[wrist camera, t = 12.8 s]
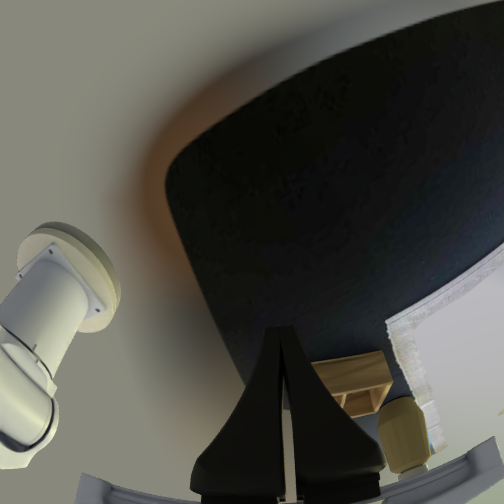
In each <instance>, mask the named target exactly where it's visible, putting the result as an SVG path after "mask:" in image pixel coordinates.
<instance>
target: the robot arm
mask: <svg viewBox="0 0 504 504" xmlns="http://www.w3.org/2000/svg"><path fill="white" fill-rule="evenodd" d="M51 250H52V251H51ZM15 279H16V281H17V282H18V283H17V285H16V286H15V287H14V288H13V289H12V291H11V292H10V293H9V294H8V296H7V297H6V298H5V299H4V301H3V302H2V303H1V305H0V469H15V468H24V467H27V465H28V463H29V462H30V460H31V458H32V457H33V456H34V454H35V453H36V452H37V451H38V450H40V449H42V448H43V447H45V445H47V444H48V443H49V442H50V441H51V439H52V438H53V436H54V434H55V432H56V429H57V426H58V420H59V407H58V403H57V401H56V399H55V398H54V393H55V391H56V389H57V386H55V384H54V383H53V382H52V379H53V377H54V375H55V373H56V370H57V368H58V366H59V364H60V362H61V360H62V358H63V356H64V354H65V352H66V350H67V348H68V346H69V345H70V343H71V341H72V339H73V337H74V335H75V333H76V331H77V330H78V328H79V326H80V324H81V322H82V321H83V320H86V319H89V318H91V317H94V316H96V315H99V314H101V313H104V312H105V311H106V310H107V307H106V305H105V304H104V303H103V302H102V301H101V299H100V298H99V297H98V296H97V295H96V294H95V292H94V291H93V290H92V289H91V288H90V286H89V285H88V284H87V283H86V281H85V280H84V279H83V278H82V276H81V275H80V274H79V273H78V271H77V270H76V269H75V268H74V266H73V265H72V264H71V262H70V261H69V260H68V258H67V257H66V256H65V254H64V253H63V252H62V250H61V249H60V247H59V246H58V245H57V244H56V243H52V244H50V245H49V246H48V247H47V248H45V249H44V250H43V251H42V252H41V253H40V254H38V255H37V256H36V257H35V258H34V259H33V260H31V261H30V262H29V263H28V264H27V265H26V266H25V267H23V268H22V269H21V270H20V271H19V272H18V273H17V274H16V275H15ZM284 379H285V384H286V390H287V396H288V401H289V407H290V412H291V419H292V429H293V443H294V459H295V474H296V475H295V476H296V494H297V503H286V504H368V503H371V502H376V501H379V500H383V499H385V500H384V501H383V502H382V504H465V503H467V502H468V501H470V500H472V499H473V498H475V497H476V496H478V495H479V494H481V493H482V492H484V491H485V490H487V489H488V488H490V487H491V486H493V485H494V484H496V483H497V482H499V481H500V480H502V479H503V478H504V465H503V461H502V457H501V454H500V451H499V447H498V445H497V441H496V438H495V436H493V437H491V438H489V439H488V440H486V441H484V442H482V443H481V444H479V445H477V446H476V447H474V448H472V449H471V450H469V451H468V452H467V453H466V454H464V455H462V456H460V457H458V458H456V459H454V460H452V461H449V462H447V463H445V464H443V465H441V466H438V467H436V468H434V469H431V470H429V471H426V472H424V473H421V474H419V475H416V476H413V477H410V478H408V479H405V480H402V481H399V482H396V483H392V484H389V485H386V486H383V487H379V480H380V474H379V472H380V471H381V470H382V469H384V467H385V466H386V465H387V463H386V459H385V456H384V453H383V451H382V449H381V448H380V446H379V444H378V443H377V442H376V441H375V440H374V439H373V438H371V437H370V436H369V435H368V434H367V433H366V432H365V431H364V430H363V429H362V428H361V427H360V426H358V425H357V424H356V423H355V422H354V421H353V419H352V418H351V417H350V416H349V415H348V414H347V413H346V412H345V411H344V409H343V408H342V407H341V406H340V405H339V404H338V402H337V401H336V400H335V399H334V397H333V396H332V395H331V393H330V392H329V391H328V389H327V388H326V386H325V385H324V383H323V382H322V380H321V379H320V377H319V376H318V374H317V372H316V371H315V369H314V367H313V366H312V364H311V362H310V360H309V358H308V356H307V354H306V352H305V350H304V348H303V346H302V344H301V341H300V339H299V336H298V333H297V330H296V327H295V326H294V325H290V326H281V327H271V328H265V329H264V330H263V335H262V341H261V346H260V350H259V353H258V357H257V360H256V363H255V366H254V369H253V371H252V374H251V376H250V379H249V381H248V383H247V386H246V388H245V390H244V392H243V394H242V396H241V398H240V400H239V402H238V404H237V406H236V407H235V409H234V411H233V413H232V414H231V416H230V418H229V419H228V420H227V422H226V423H225V425H224V426H223V428H222V429H221V430H220V432H219V433H218V435H217V436H216V437H215V439H214V440H213V441H212V442H211V443H210V445H209V446H208V447H207V448H206V449H205V451H204V452H203V453H202V454H201V455H200V456H199V457H198V458H197V460H196V462H195V465H194V468H193V471H192V474H191V481H190V489H191V491H193V492H195V493H197V494H200V495H201V502H195V501H187V500H180V499H173V498H167V497H161V496H157V495H152V494H147V493H143V492H138V491H134V490H130V489H126V488H123V487H120V486H116V485H113V484H111V483H109V482H107V481H104V480H102V479H99V478H96V477H93V476H90V475H88V474H85V473H81V476H80V480H79V485H78V489H77V493H76V499H75V503H74V504H280V502H284V501H286V499H285V495H286V494H287V493H286V475H285V458H284V442H283V441H284V440H283V420H282V419H283V416H282V415H283V386H284Z"/></svg>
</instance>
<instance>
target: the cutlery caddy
mask: <svg viewBox="0 0 504 504" xmlns="http://www.w3.org/2000/svg"><path fill="white" fill-rule="evenodd" d="M311 364H312V366H313V367H314V369H315V371H316V372H317V374H318V376H319V377H320V379H321V380H322V382H323V383H324V385H325V386H326V388H327V389H328V391H329V392H330V393H331V395H332V396H333V397H334V399H335V400H336V401H337V402H338V404H339V405H340V406H341V407H342V408H343V409H344V411H345V412H346V413H347V414H348V415H349V416H350V417H351V418H355V417H359V416H364V415H368V414H373V413H377V412H378V410H379V408H380V406H381V404H382V402H383V401H384V399H385V397H386V395H387V393H388V391H389V389H390V387H391V385H392V382H393V380H392V377H391V374H390V371H389V368H388V365H387V362H386V360H385V357H384V354H383V351H382V350H380V351H375V352H370V353H365V354H360V355H355V356H349V357H343V358H337V359H331V360H324V361H318V362H311Z"/></svg>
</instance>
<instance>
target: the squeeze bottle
mask: <svg viewBox="0 0 504 504" xmlns="http://www.w3.org/2000/svg"><path fill="white" fill-rule="evenodd" d="M377 433H378V436H379V438H380V441H381V444H382V447H383V450H384V453H385V456H386V459H387V462H388V465H389V468H390V471H391V472H392V473H395V474H396V473H397V474H399V473H402V474H400V475H399V476H398V479H399V481H402V480H405V479H408V478H410V477H413V476H416V475H419V474H421V473H424V472H426V471H428V467H427V465H423V464H425V463H426V462H427V461H428V460H429V459H430V457H431V452H430V445H429V439H428V434H427V428H426V423H425V418H424V413H423V411H422V410H421V409H420V408H419V407H418V405H417V404H416V403H415V402H414V401H413V399H412V398H411V397H401V398H398V399H395V400H393V401H391V402H389V403H387V404H386V405H384V406H383V407H382V408H381V409H380V411H379V419H378V428H377Z"/></svg>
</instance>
